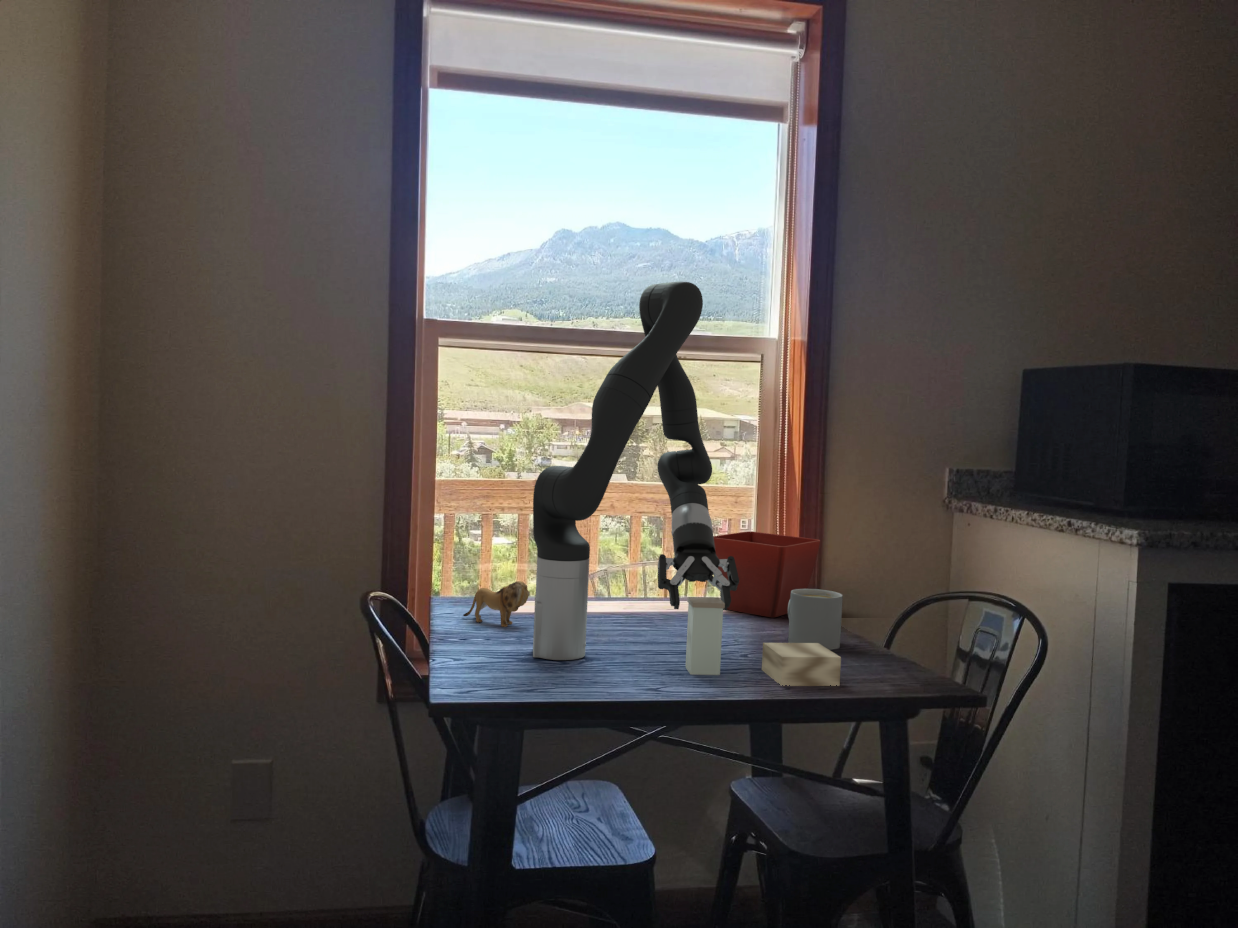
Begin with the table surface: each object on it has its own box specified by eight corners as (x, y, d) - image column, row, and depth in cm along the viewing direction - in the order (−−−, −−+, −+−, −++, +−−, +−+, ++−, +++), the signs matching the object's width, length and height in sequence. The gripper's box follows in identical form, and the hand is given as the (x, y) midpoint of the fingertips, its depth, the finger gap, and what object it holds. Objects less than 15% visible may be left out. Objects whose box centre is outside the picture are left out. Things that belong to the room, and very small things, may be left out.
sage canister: (689, 674, 157) (692, 602, 157) (684, 666, 163) (687, 596, 162) (721, 675, 158) (724, 603, 157) (715, 667, 163) (718, 597, 163)
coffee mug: (848, 649, 181) (851, 597, 181) (800, 650, 179) (803, 597, 179) (819, 634, 194) (821, 585, 194) (773, 634, 192) (776, 585, 192)
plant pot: (779, 623, 204) (783, 545, 203) (704, 609, 215) (708, 536, 215) (818, 611, 219) (822, 539, 218) (746, 599, 231) (749, 531, 230)
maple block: (780, 687, 153) (782, 656, 153) (761, 671, 163) (763, 642, 163) (839, 687, 155) (841, 657, 154) (816, 671, 164) (818, 642, 164)
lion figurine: (532, 624, 191) (534, 580, 191) (520, 629, 186) (522, 584, 186) (469, 616, 196) (470, 573, 196) (455, 620, 191) (457, 576, 191)
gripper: (657, 519, 171) (663, 594, 161) (734, 522, 173) (746, 595, 162) (652, 545, 177) (658, 618, 166) (726, 547, 178) (737, 620, 167)
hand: (701, 607), depth 164 cm, fingers open, 8 cm apart
